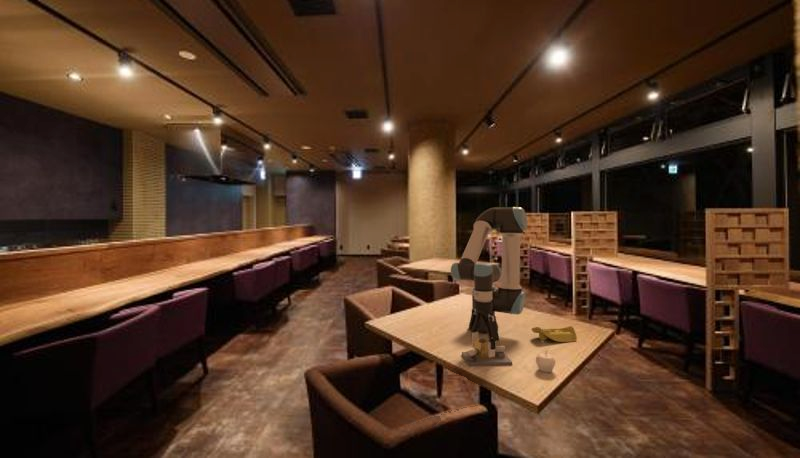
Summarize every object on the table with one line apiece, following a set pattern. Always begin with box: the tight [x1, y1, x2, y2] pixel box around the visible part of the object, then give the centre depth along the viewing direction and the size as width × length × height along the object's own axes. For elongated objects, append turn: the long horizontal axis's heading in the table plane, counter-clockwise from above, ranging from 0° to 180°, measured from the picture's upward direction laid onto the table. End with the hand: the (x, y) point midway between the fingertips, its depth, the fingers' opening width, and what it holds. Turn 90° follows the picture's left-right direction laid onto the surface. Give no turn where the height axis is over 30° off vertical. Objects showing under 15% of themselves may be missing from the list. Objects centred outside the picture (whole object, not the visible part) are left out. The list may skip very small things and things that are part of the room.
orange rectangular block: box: [473, 338, 489, 359], centre depth 153 cm, size 5×5×7 cm
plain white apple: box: [535, 349, 556, 373], centre depth 142 cm, size 7×7×8 cm
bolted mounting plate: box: [461, 345, 513, 367], centre depth 153 cm, size 18×12×5 cm, turn 93°
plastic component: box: [531, 325, 578, 343], centre depth 178 cm, size 20×7×10 cm
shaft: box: [466, 348, 480, 362], centre depth 150 cm, size 5×4×4 cm
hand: (483, 351), depth 154 cm, fingers open, 11 cm apart
